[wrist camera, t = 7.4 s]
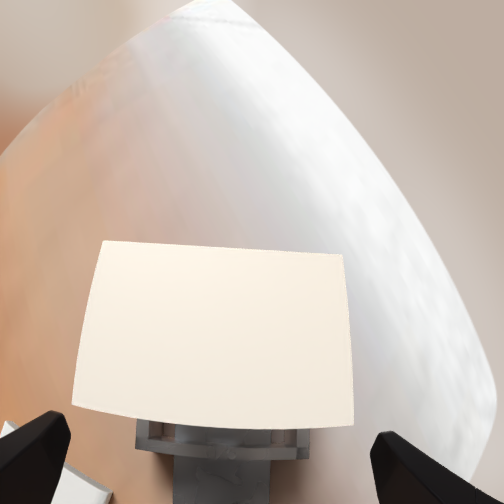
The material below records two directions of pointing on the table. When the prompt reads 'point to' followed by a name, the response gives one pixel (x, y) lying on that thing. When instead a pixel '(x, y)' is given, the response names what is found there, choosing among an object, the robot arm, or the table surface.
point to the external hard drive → (72, 483)
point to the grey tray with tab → (221, 460)
